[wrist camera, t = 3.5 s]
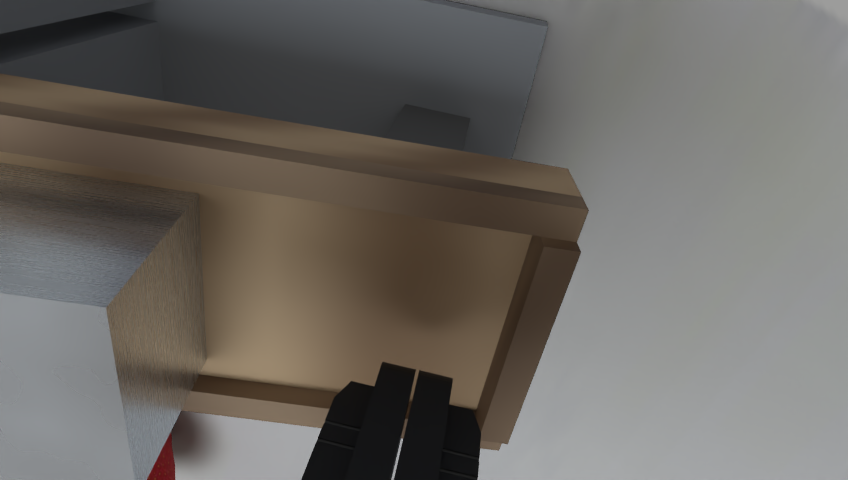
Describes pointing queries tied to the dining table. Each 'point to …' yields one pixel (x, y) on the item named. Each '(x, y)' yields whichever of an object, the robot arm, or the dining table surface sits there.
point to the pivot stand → (296, 61)
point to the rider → (95, 323)
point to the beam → (331, 248)
